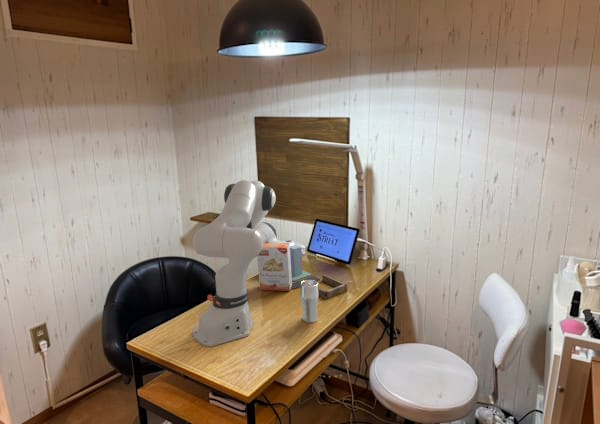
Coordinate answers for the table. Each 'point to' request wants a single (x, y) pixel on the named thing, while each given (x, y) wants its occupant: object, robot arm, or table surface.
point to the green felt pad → (301, 276)
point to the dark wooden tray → (337, 290)
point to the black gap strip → (298, 283)
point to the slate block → (296, 260)
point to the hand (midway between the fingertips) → (296, 256)
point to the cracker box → (275, 267)
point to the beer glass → (309, 300)
